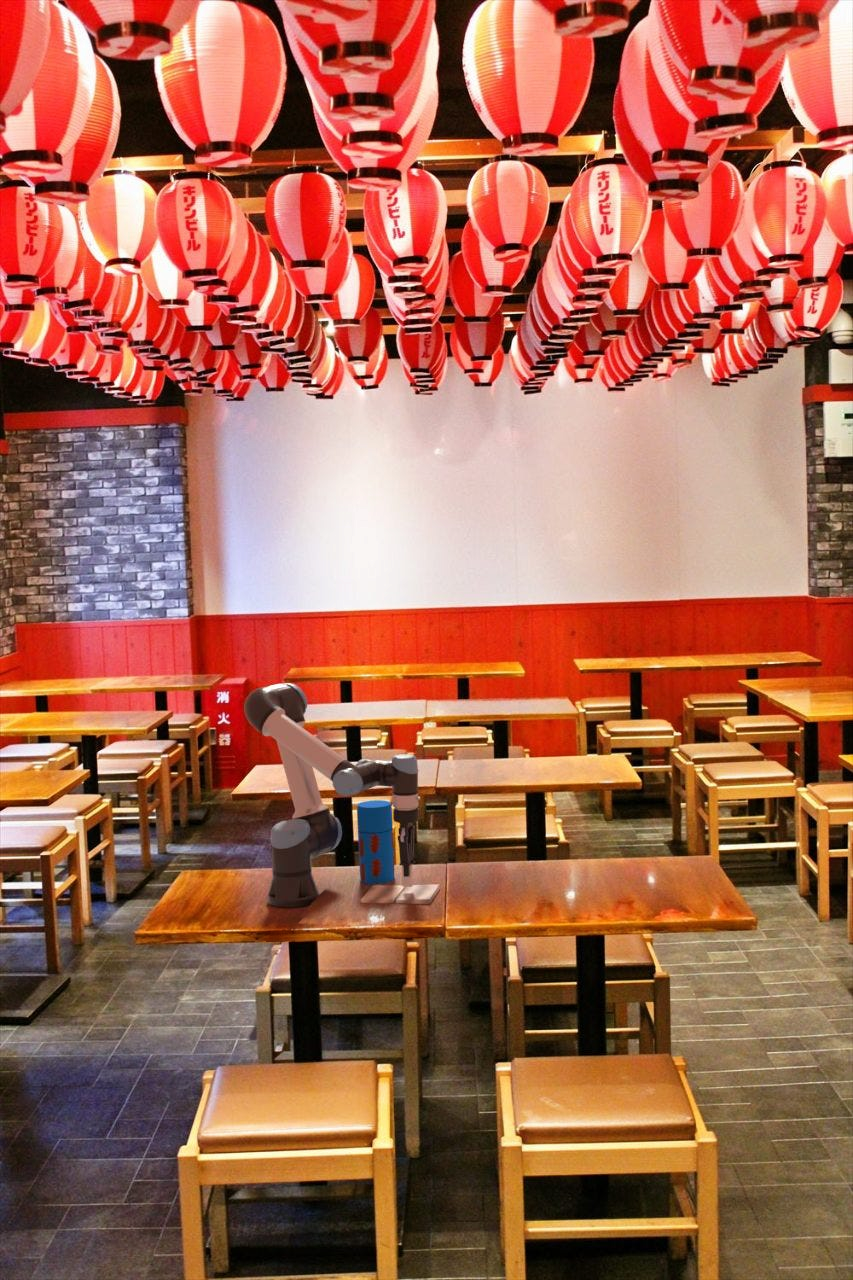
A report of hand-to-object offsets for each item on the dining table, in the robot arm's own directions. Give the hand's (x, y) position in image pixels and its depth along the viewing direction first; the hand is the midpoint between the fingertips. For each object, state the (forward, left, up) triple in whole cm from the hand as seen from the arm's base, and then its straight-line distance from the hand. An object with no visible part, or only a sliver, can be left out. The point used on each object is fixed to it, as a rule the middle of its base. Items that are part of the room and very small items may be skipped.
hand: (407, 886), depth 352 cm
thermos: (-13, +17, -4) cm, 22 cm away
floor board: (-2, 0, -4) cm, 5 cm away
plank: (+3, 0, -3) cm, 5 cm away
